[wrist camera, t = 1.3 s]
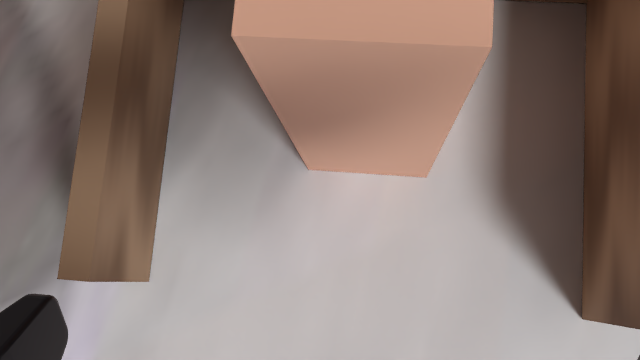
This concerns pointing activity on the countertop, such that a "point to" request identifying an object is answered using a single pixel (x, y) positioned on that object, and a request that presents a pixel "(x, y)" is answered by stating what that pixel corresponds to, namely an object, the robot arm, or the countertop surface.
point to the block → (365, 75)
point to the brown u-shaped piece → (152, 126)
